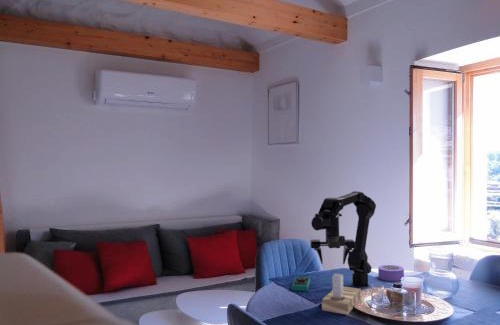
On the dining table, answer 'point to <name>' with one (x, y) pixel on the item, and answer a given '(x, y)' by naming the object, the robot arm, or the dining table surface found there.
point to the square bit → (338, 286)
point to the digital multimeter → (300, 284)
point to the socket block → (338, 305)
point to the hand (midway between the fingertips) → (332, 263)
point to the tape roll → (390, 272)
